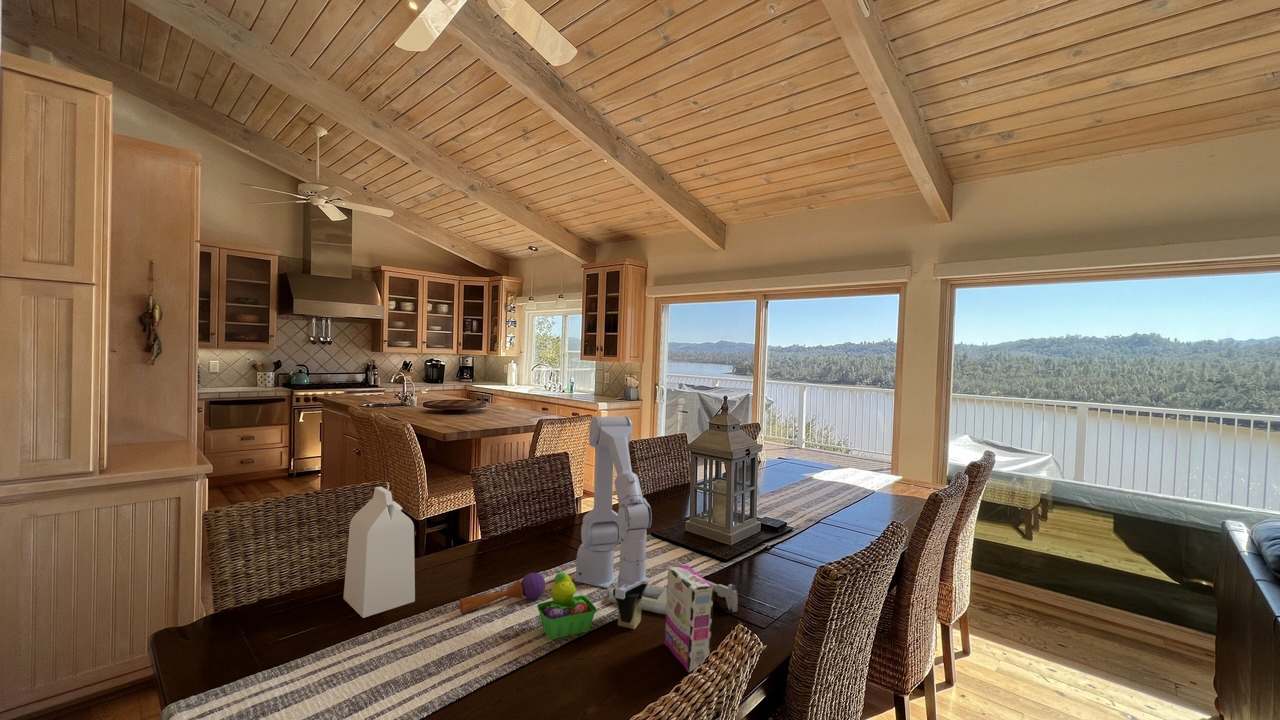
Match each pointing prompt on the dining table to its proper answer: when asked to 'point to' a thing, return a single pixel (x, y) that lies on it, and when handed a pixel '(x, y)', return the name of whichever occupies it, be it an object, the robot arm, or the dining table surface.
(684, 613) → the candy bar box
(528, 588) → the purple maraca
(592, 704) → the dining table surface
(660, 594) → the white slotted plate
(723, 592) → the caliper
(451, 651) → the dining table surface
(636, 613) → the block
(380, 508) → the milk
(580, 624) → the fruit basket
